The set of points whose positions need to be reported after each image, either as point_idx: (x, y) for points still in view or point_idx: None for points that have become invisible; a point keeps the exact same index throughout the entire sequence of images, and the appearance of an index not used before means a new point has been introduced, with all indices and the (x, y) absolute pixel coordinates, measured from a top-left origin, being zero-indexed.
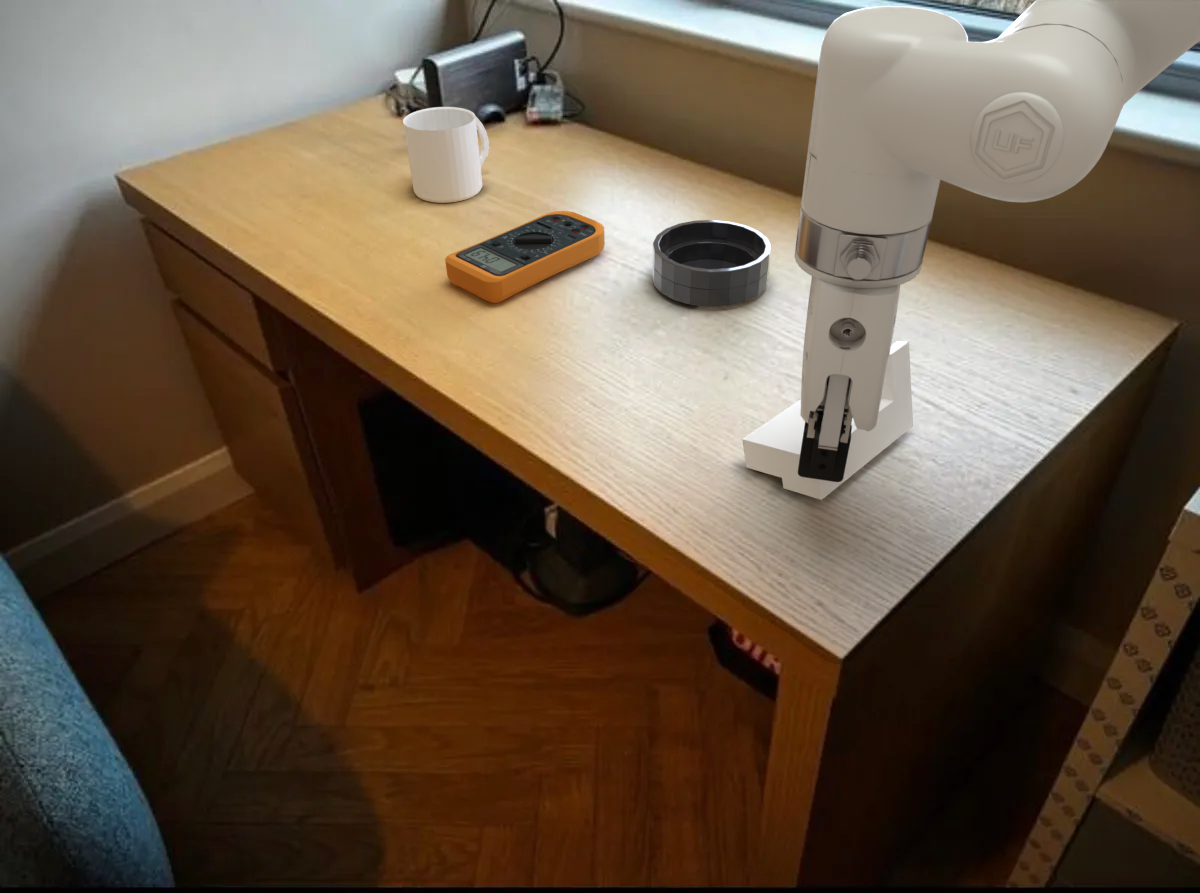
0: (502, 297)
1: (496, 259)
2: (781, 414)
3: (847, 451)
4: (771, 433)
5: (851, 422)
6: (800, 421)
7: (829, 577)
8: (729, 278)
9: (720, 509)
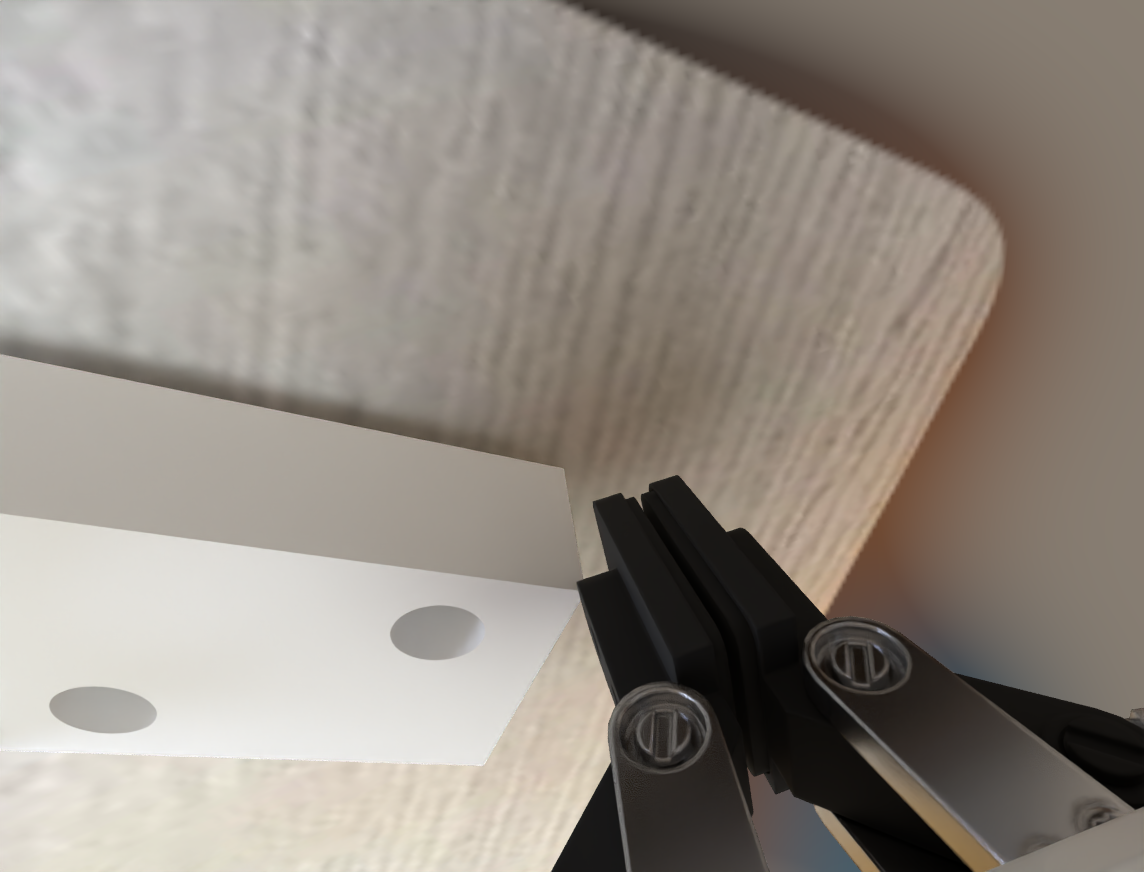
0: None
1: None
2: (280, 753)
3: (750, 563)
4: (426, 732)
5: (1068, 760)
6: (307, 705)
7: (808, 332)
8: None
9: None
